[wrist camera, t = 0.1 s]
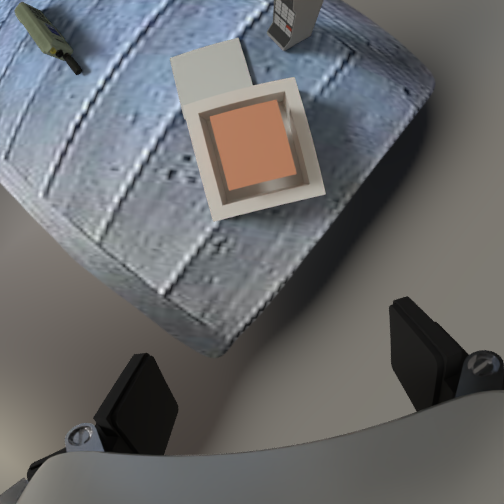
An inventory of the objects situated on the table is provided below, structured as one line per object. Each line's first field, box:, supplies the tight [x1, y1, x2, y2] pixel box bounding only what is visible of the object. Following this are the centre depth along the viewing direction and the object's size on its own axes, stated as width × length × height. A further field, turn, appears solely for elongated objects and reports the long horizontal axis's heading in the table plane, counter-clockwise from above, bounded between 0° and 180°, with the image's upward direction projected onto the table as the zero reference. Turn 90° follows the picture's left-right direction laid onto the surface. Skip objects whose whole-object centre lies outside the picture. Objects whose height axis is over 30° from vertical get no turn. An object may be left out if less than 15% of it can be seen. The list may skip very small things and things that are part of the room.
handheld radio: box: [15, 2, 82, 75], centre depth 30 cm, size 7×3×25 cm
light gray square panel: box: [170, 38, 253, 120], centre depth 35 cm, size 10×10×1 cm
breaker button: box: [210, 100, 297, 191], centre depth 30 cm, size 8×7×3 cm
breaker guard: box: [183, 77, 326, 222], centre depth 35 cm, size 15×14×7 cm
